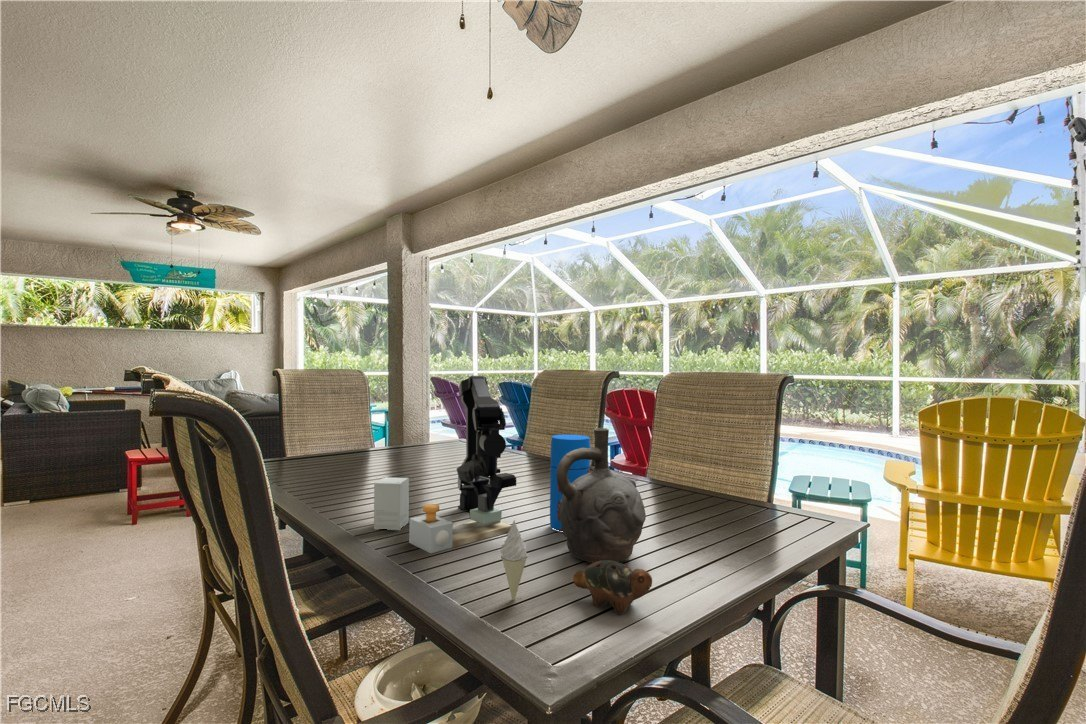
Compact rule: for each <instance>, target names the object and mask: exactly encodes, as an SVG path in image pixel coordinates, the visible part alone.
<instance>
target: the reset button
mask: <svg viewBox="0 0 1086 724" xmlns="http://www.w3.org/2000/svg"><path fill="white" fill-rule="evenodd" d="M439 511H440V505H439V504H435V503H429V504H424V505H422V512H424V513H425V515H426V523H428V524H429V523H433V522H436V516H437V513H438V512H439Z"/></svg>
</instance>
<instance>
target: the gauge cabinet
mask: <svg viewBox="0 0 1086 724" xmlns="http://www.w3.org/2000/svg"><path fill="white" fill-rule="evenodd" d="M453 524H454V523H453V522H452V521H449V520H447V519H445V518H442V517H439V516H437V515H436V522H433V523H429V524H428V523H426V514H424V515H418V516H414V517H410V518H409V527H408V528H409V530H408V531H409V532H408V533H409V535H408V536H409V537H408V542H409V544H410V545H413V546H415V547H417V548H419V549H421V550H423V551H425V552H427V553H429V554H434V553H437V552H441V551H446V550H449V549H451V548H452V532H453V526H454V525H453Z"/></svg>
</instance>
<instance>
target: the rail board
mask: <svg viewBox="0 0 1086 724" xmlns="http://www.w3.org/2000/svg"><path fill="white" fill-rule="evenodd" d="M511 527H512V524H508V523H505V522H504V521H503V522H502V519H501V520H499V521H495V522H491V523H487V524H481V523H479V522H476V521H474V520H471V521H469V522H465V523H460V524H455V525H453V532H452V548H456V547H460V546H463V545H466V544H467V545H468V544H469V543H470V544H471V543H475V542H478V541H481V540H485V539H488V538H491V537H492V538H493V537H496V536H499V534H500V535H503V533H504V534H506V532H507V533H508V532H509V531H510V529H511Z"/></svg>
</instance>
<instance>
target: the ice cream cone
mask: <svg viewBox="0 0 1086 724" xmlns="http://www.w3.org/2000/svg"><path fill="white" fill-rule="evenodd" d="M511 525H512V527H511V529H510V531H509V532H507V534H506V536H507V537H506V539H505V540H504V541H503V543H502V545H501V550H500V554H501V556H500V558H501V561H502V564H503V568H504V572H505V576H506V580H507V584H508V588H509V592H510V597H511V600H512V601H514V600H516V596H517V593H518V590H519V586H520V582H521V580H522V577H523V576H522V575H523V572H524V569H525V565H526V562H527V559H528V554H527V547H526V546H527V545H526V543H525V541H524V540H522V537H521V536H522V534H521V533H520V531H519V529H518V526H517V524H516V520H513V521H512V524H511Z"/></svg>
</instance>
